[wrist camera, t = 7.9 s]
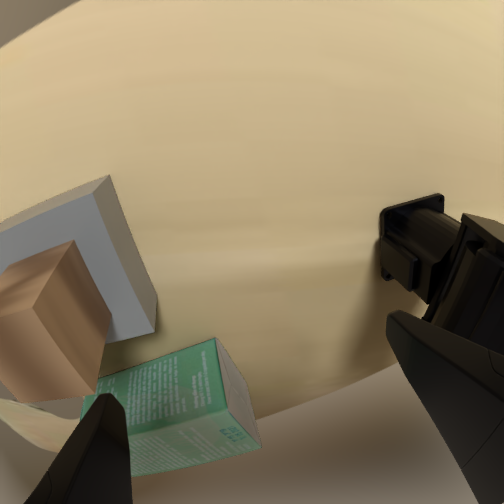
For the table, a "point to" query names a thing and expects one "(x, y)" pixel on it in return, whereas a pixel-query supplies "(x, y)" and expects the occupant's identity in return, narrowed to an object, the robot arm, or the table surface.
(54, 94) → the table surface
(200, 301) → the table surface
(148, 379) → the box
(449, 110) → the table surface
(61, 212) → the base
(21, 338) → the block
